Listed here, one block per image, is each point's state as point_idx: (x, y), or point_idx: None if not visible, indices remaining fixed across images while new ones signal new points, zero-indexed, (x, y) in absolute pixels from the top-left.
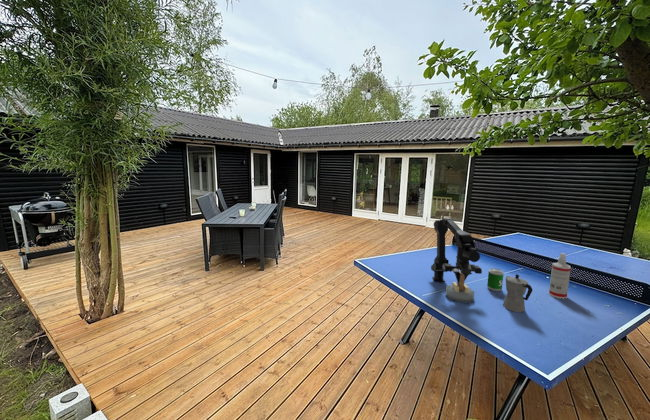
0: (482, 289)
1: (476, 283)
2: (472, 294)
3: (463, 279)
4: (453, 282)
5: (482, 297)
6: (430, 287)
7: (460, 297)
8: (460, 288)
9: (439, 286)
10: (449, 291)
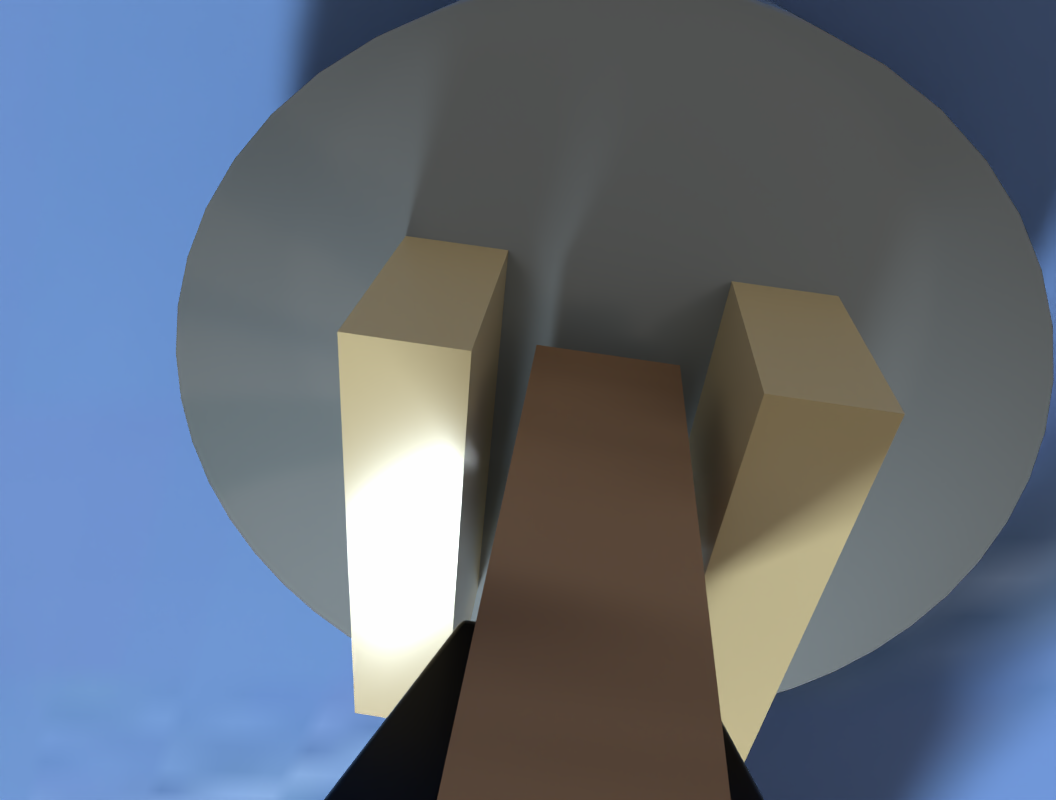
0: (13, 627)
1: (82, 782)
2: (281, 126)
3: (510, 789)
4: (739, 742)
5: (51, 328)
6: (1030, 715)
7: (786, 13)
8: (655, 399)
9: (791, 737)
10: (1045, 353)
